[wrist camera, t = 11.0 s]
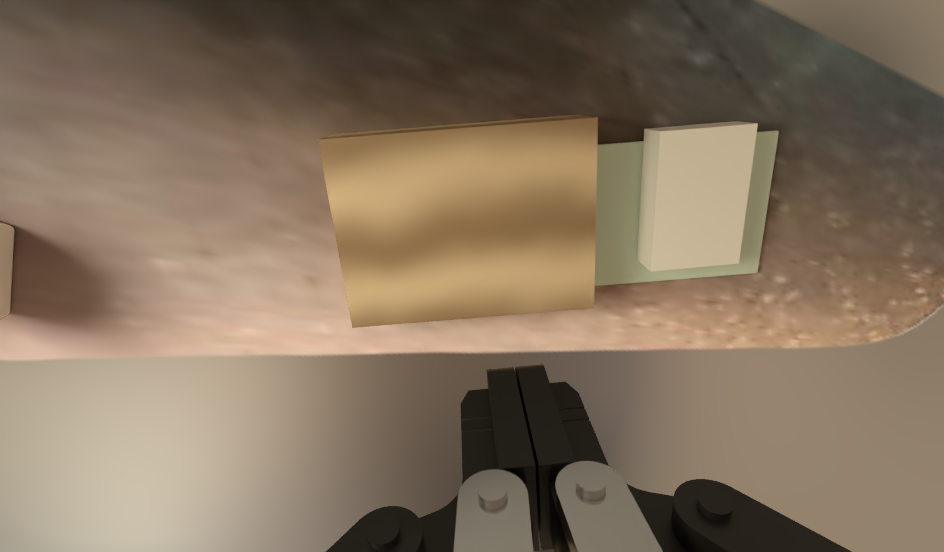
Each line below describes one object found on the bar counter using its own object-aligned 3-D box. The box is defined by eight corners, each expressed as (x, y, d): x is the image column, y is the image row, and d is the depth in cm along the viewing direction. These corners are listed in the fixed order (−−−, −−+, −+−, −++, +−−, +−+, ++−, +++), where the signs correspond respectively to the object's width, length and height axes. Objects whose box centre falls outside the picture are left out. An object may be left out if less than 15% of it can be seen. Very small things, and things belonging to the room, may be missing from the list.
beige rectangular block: (757, 123, 29) (734, 121, 31) (660, 131, 29) (643, 128, 31) (738, 263, 32) (718, 251, 34) (650, 271, 32) (636, 259, 34)
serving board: (334, 133, 31) (317, 139, 27) (580, 114, 31) (598, 117, 27) (363, 302, 35) (352, 327, 31) (579, 285, 35) (594, 307, 32)
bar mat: (595, 144, 32) (597, 145, 31) (775, 130, 32) (778, 130, 31) (592, 283, 35) (594, 286, 35) (754, 270, 35) (757, 272, 35)
